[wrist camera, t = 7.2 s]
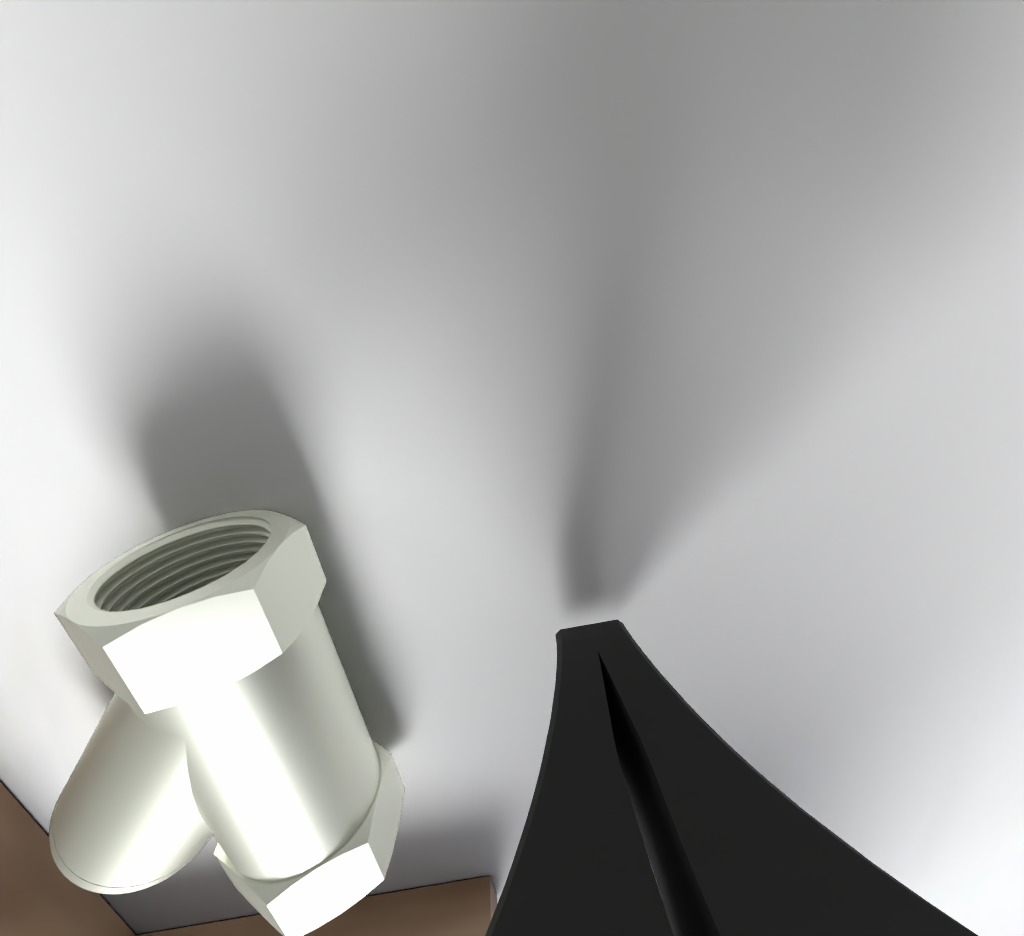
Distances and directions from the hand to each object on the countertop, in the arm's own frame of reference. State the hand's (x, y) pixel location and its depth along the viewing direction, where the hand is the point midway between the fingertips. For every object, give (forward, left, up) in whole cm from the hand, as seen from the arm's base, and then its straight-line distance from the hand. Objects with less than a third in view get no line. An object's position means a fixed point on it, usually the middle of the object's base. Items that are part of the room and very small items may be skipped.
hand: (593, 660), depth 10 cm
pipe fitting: (0, +8, -2) cm, 9 cm away
